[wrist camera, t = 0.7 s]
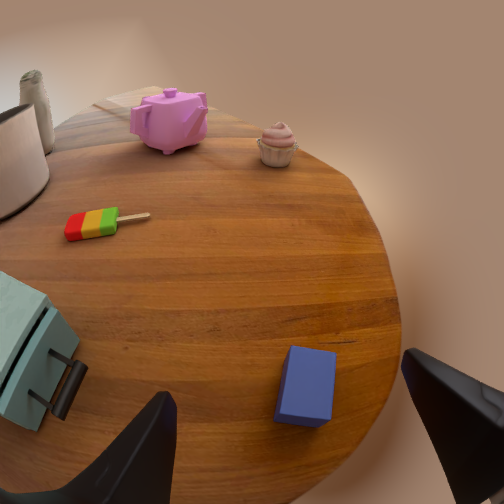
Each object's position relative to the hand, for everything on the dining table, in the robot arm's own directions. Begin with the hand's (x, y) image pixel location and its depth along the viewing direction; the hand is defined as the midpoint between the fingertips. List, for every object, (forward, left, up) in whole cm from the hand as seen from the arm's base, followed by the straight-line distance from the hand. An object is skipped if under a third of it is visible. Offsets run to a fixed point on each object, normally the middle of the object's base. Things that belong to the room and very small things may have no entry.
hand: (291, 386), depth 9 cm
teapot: (+58, +33, -18) cm, 69 cm away
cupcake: (+55, +6, -18) cm, 58 cm away
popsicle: (+24, +29, -18) cm, 42 cm away
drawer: (-2, +25, -17) cm, 31 cm away
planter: (+27, +64, -18) cm, 72 cm away
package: (+6, -4, -18) cm, 19 cm away
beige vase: (+49, +76, -18) cm, 92 cm away
